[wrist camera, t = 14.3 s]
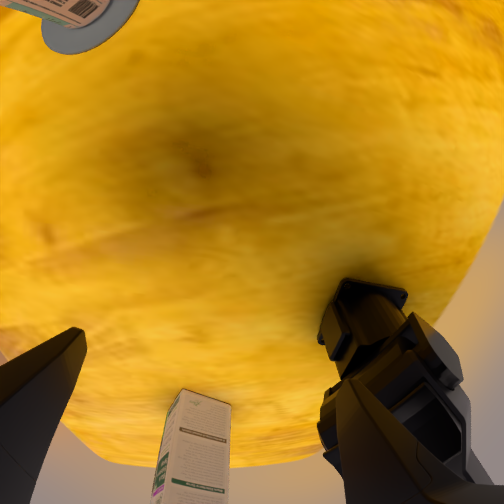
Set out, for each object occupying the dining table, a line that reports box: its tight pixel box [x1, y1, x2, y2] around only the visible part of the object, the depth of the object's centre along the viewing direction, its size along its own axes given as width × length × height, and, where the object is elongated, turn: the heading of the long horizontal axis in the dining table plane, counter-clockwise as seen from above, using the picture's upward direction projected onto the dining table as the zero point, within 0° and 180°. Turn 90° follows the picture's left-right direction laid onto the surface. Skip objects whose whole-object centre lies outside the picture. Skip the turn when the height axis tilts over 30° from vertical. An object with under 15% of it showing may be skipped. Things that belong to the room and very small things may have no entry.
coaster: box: [41, 0, 139, 55], centre depth 13 cm, size 9×9×1 cm
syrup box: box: [150, 389, 231, 504], centre depth 22 cm, size 6×6×14 cm
